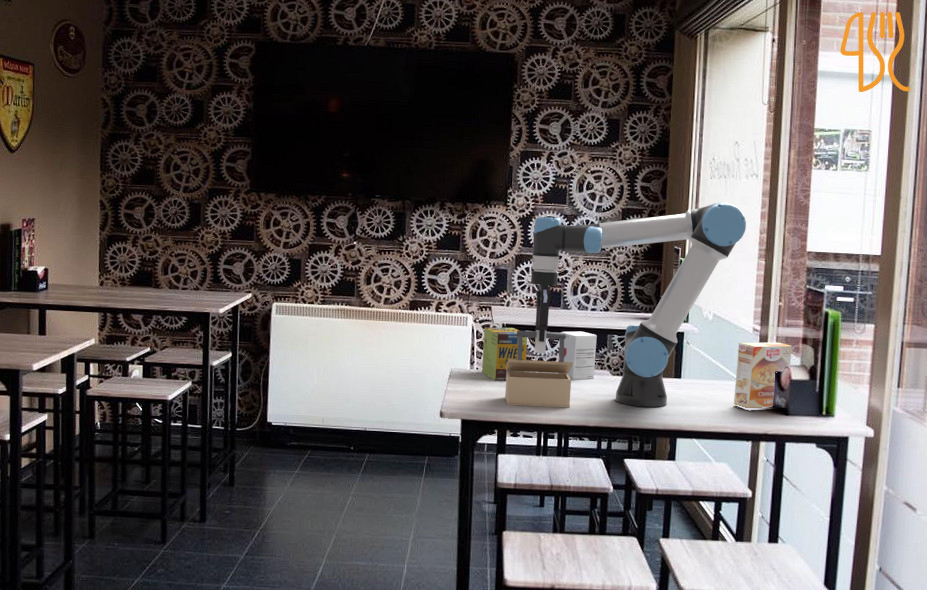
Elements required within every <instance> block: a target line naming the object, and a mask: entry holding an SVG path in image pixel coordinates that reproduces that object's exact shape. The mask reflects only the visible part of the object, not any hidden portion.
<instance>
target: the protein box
mask: <svg viewBox="0 0 927 590" xmlns="http://www.w3.org/2000/svg"><path fill="white" fill-rule="evenodd" d="M517 331H520V330H519V329H517V328H514V327H493V326H492V327H490V326H489V327H484V331H483V345H482V346H483V348H482V364H481V365H482V366H481V367H482V369H481V373H483V374H484V375H486V376H488V377H489V378H490V379H492V380H493V381H498V382H500V381H501V382H503V381H504V382H506V374H507V371H506V366H507V363H508V359H514V360H517V358H518V337H517ZM527 349H528V337H523V338H522V360H527ZM520 372H526V371H520Z"/></svg>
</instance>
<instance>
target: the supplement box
mask: <svg viewBox="0 0 927 590" xmlns="http://www.w3.org/2000/svg"><path fill="white" fill-rule="evenodd" d="M560 333H566V338H565V339H564V362H572V367H571V369H570V371H569V372H568V373H561V374H568V376H569V377H570V379H571V380H585V379H586V380H587V379H590V380H591V379H594V377H595V366H596V365H595V363H596V352H597V351H596V349H597V334H594V333H593V334H592V333H591V332H590V333H589V332H585V331H561V332H560Z"/></svg>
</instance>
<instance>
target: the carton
mask: <svg viewBox="0 0 927 590" xmlns="http://www.w3.org/2000/svg"><path fill="white" fill-rule="evenodd" d="M571 386H572V379H570V377H569V376H568V374H561V373H547V372H527V371H525V372H520V371H507V374H506V381H505V391H504V392H505V395H504V397H505V401H506V402H505V403H506V405H513V406H529V407H530V406H532V407H549V408H550V407H552V408H553V407H554V408H570V403H571V390H572V389H571V388H572V387H571Z"/></svg>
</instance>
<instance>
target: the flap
mask: <svg viewBox="0 0 927 590" xmlns="http://www.w3.org/2000/svg"><path fill="white" fill-rule="evenodd" d="M517 337H518V358H517V360H514V359H508V363H507V366H506V371H525V372H541V373H568V372H569V371H570V369H571V367H572V362H564V339H565V338H566V333H561V332H552V331H551V332H550V331H549V332H548V331H547V333H546V339H550V340H551V339H552V340H554V339H555V340H559V342H558V344H559V346H558V347H559V351H558V353H559V354H558V356H559V357H558V361H553V360H551V361H550V360H536V359H535V360H532V359H530V360H529V359H526V360H522V338H523V337H527V338H531V339H535V338H537V332H536V330H535V331H532V330H519V331H517Z"/></svg>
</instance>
